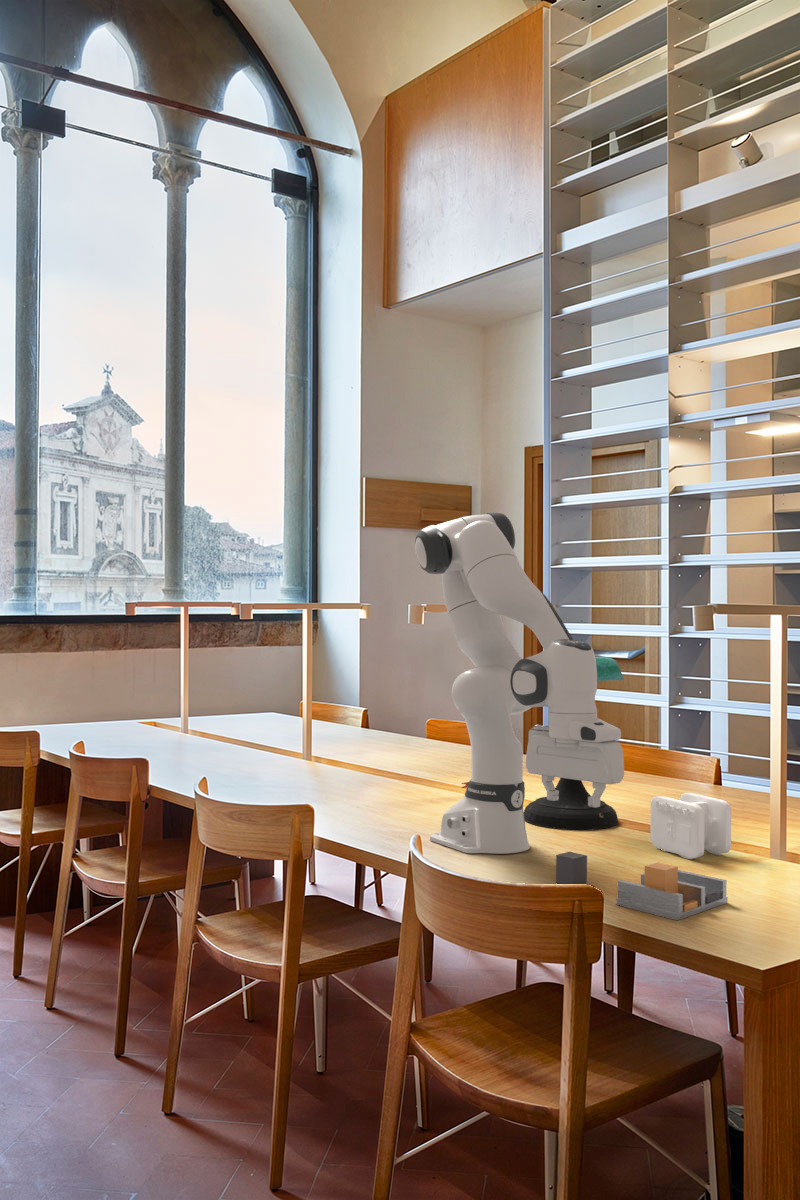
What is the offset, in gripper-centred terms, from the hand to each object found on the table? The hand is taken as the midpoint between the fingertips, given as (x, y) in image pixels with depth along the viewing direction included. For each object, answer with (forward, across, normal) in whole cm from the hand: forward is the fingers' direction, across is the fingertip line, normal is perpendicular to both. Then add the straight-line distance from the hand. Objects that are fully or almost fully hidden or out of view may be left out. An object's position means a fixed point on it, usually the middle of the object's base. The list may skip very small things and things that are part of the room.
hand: (573, 803), depth 187 cm
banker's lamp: (+15, -40, +50) cm, 66 cm away
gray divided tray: (+16, +18, +5) cm, 24 cm away
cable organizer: (+16, -2, +42) cm, 45 cm away
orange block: (+15, +18, +2) cm, 23 cm away
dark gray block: (+15, 0, 0) cm, 16 cm away
